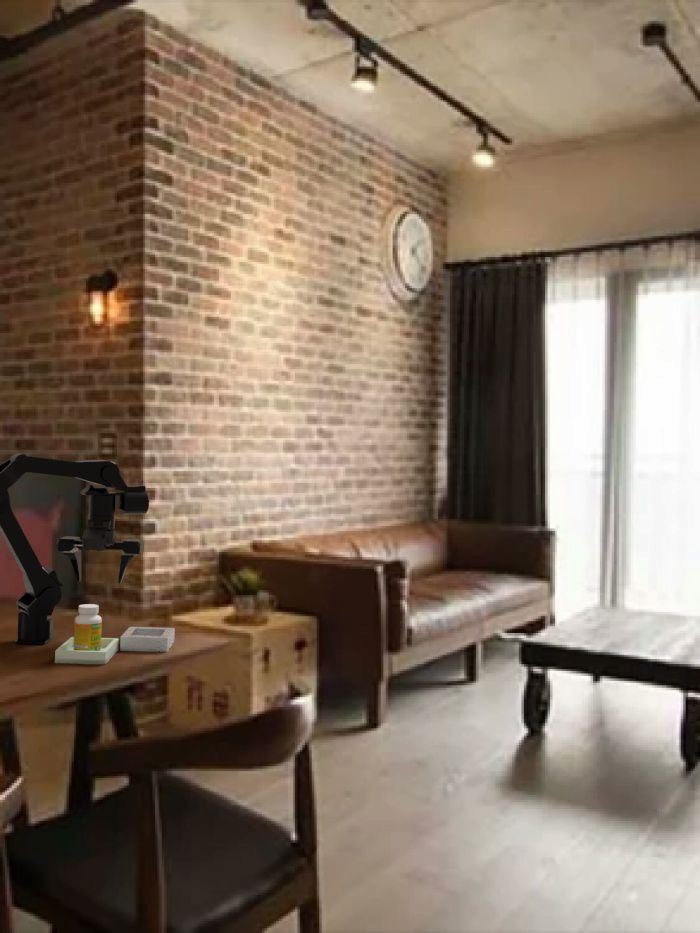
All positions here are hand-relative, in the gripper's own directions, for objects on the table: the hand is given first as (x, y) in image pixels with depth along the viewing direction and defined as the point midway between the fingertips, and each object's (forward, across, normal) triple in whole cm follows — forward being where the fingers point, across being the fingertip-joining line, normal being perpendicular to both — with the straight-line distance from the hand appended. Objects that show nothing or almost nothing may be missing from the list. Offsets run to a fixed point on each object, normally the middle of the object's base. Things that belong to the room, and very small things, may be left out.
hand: (99, 582), depth 199 cm
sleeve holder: (+12, +13, -9) cm, 20 cm away
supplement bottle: (+11, +2, -20) cm, 23 cm away
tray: (+12, +2, -20) cm, 23 cm away
